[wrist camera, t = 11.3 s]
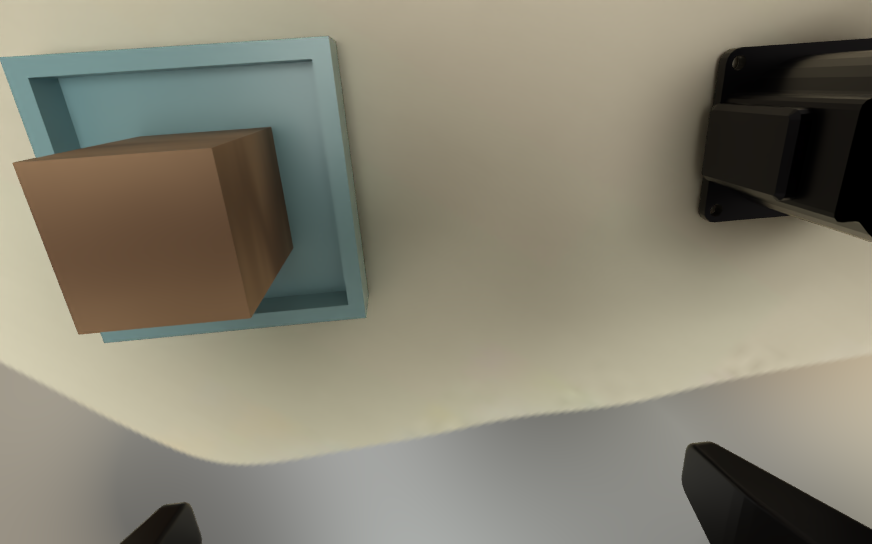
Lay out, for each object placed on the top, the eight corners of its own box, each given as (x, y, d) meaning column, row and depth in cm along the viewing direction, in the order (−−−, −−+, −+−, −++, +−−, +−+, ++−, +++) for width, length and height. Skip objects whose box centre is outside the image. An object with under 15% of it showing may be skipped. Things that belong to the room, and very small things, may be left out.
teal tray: (335, 41, 17) (328, 35, 15) (368, 296, 20) (366, 317, 18) (44, 60, 16) (-2, 57, 14) (131, 318, 20) (104, 342, 18)
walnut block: (293, 247, 19) (251, 318, 13) (174, 258, 18) (78, 334, 13) (271, 126, 17) (211, 148, 11) (139, 136, 17) (12, 162, 11)
